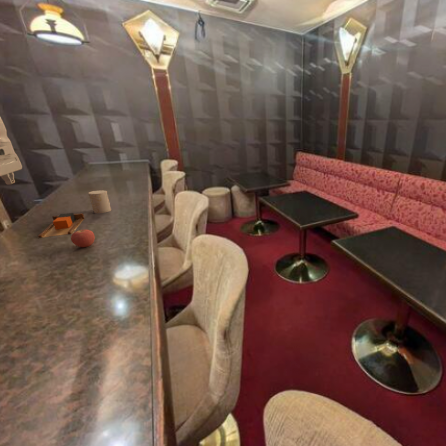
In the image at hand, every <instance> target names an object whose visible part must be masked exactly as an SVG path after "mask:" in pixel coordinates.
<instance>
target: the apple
mask: <svg viewBox="0 0 446 446" xmlns="http://www.w3.org/2000/svg"><path fill="white" fill-rule="evenodd" d="M95 240H96V239H95V233H94V232H93V231H92V230H90V229H79V230H77V231H76V230H75V231H74V232H73V234H71V236H70V241H71V242H72V244H74V245H75V246H76V247H78V248H88V247H90V246H92V245H93V244H94V242H95Z"/></svg>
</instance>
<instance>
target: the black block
mask: <svg viewBox="0 0 446 446" xmlns="http://www.w3.org/2000/svg"><path fill="white" fill-rule="evenodd" d="M74 214H75V213H74V212H69V213H68V212H67V213H60V214H59V215H57V216H58V217H57V218H60V217H71V220H72V223H73V222H74V221H75V217H74Z"/></svg>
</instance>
